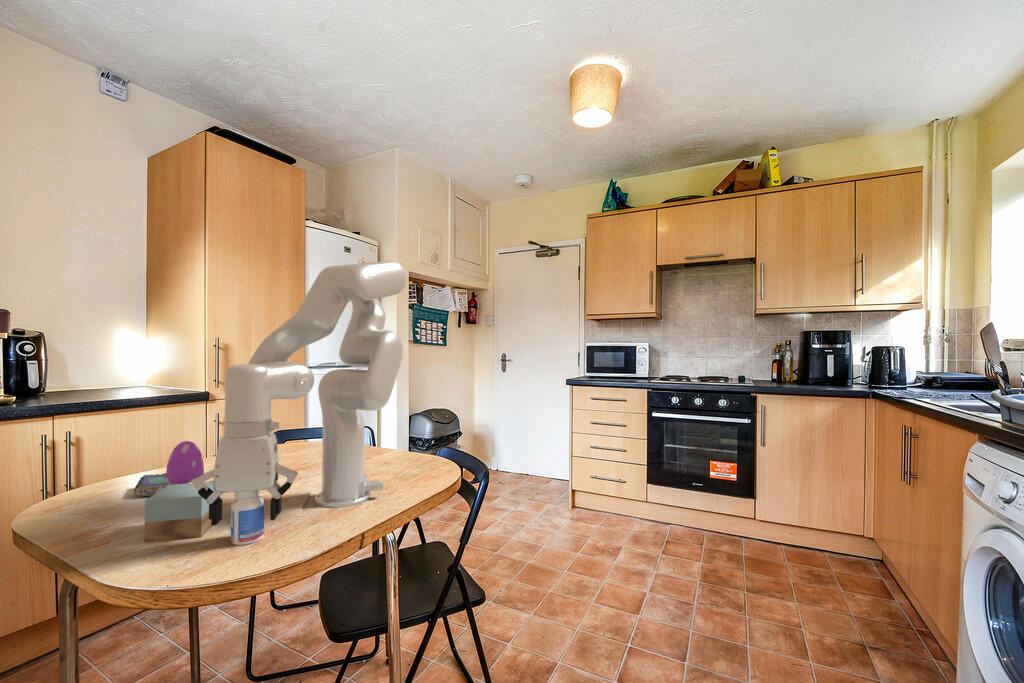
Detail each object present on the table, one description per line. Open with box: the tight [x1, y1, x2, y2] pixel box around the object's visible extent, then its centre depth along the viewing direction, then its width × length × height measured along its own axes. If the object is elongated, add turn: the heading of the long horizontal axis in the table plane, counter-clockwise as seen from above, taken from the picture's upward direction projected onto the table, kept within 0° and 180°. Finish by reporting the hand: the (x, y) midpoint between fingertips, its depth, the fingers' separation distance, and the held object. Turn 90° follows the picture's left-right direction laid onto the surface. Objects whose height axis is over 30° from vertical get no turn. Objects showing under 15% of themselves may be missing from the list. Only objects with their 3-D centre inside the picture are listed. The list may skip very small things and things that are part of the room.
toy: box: [165, 440, 205, 484], centre depth 96 cm, size 7×7×15 cm
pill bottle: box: [230, 490, 265, 546], centre depth 81 cm, size 6×5×10 cm
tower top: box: [144, 481, 215, 523], centre depth 85 cm, size 9×9×4 cm
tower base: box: [144, 511, 213, 542], centre depth 85 cm, size 9×9×4 cm
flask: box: [133, 472, 175, 497], centre depth 106 cm, size 9×3×11 cm
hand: (246, 520), depth 81 cm, fingers open, 9 cm apart
